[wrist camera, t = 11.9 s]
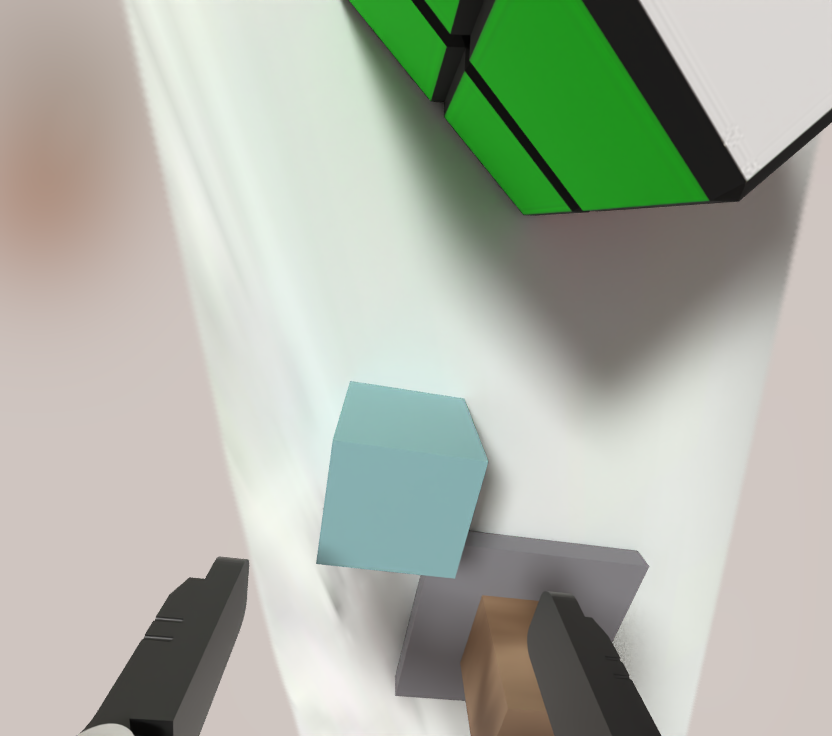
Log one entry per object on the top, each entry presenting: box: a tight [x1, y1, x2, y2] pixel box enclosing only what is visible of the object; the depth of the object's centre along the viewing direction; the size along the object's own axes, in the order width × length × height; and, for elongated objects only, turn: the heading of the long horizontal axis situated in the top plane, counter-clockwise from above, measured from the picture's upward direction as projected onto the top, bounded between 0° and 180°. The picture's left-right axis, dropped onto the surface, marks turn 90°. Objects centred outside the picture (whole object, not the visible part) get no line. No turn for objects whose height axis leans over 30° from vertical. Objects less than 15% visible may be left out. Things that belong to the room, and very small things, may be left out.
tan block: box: [460, 595, 554, 736], centre depth 19 cm, size 5×5×5 cm
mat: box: [395, 531, 649, 701], centre depth 22 cm, size 11×11×1 cm
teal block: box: [316, 381, 488, 579], centre depth 16 cm, size 5×5×5 cm
